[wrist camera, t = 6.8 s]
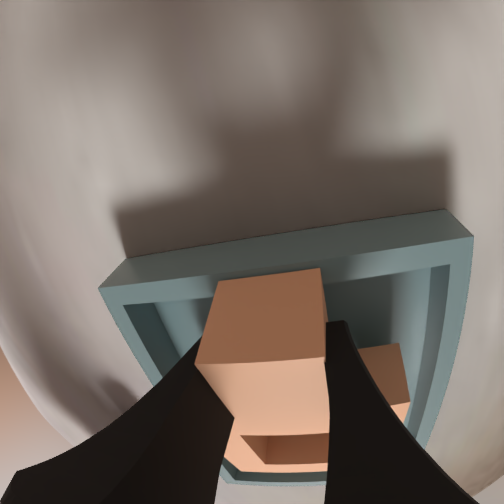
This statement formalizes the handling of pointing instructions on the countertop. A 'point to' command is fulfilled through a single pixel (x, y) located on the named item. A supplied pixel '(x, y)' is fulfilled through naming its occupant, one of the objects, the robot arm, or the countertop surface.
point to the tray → (336, 297)
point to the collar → (281, 370)
